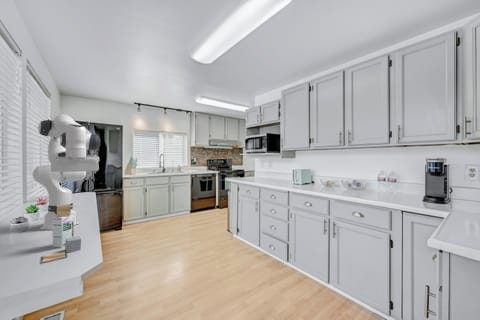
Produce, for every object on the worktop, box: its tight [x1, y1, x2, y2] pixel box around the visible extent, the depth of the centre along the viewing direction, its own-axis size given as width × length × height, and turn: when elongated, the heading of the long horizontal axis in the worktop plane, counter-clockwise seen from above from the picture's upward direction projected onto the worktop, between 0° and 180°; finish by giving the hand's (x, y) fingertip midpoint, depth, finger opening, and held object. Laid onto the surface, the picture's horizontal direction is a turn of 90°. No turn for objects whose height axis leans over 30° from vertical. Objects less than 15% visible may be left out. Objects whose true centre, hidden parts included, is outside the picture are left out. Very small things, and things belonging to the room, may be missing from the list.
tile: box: [39, 250, 68, 265], centre depth 89 cm, size 8×8×1 cm
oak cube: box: [57, 204, 70, 217], centre depth 102 cm, size 5×5×5 cm
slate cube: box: [64, 236, 82, 254], centre depth 97 cm, size 5×5×5 cm
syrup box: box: [52, 214, 75, 248], centre depth 102 cm, size 6×6×14 cm
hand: (75, 180), depth 112 cm, fingers open, 8 cm apart
